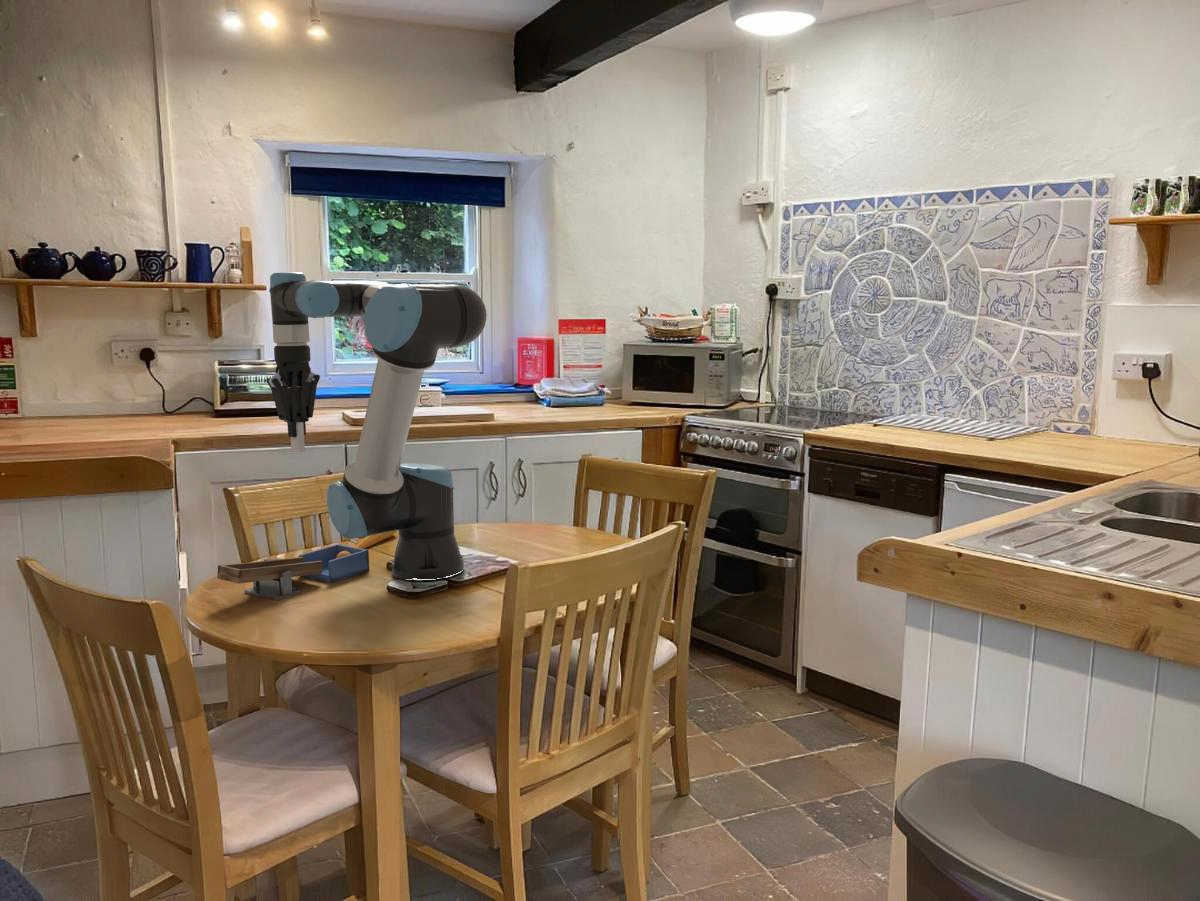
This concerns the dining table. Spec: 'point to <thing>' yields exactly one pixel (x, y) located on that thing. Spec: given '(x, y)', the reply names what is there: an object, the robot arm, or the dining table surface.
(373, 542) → the carrot
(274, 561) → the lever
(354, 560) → the tray
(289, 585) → the stand
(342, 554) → the ball
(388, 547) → the dining table surface
